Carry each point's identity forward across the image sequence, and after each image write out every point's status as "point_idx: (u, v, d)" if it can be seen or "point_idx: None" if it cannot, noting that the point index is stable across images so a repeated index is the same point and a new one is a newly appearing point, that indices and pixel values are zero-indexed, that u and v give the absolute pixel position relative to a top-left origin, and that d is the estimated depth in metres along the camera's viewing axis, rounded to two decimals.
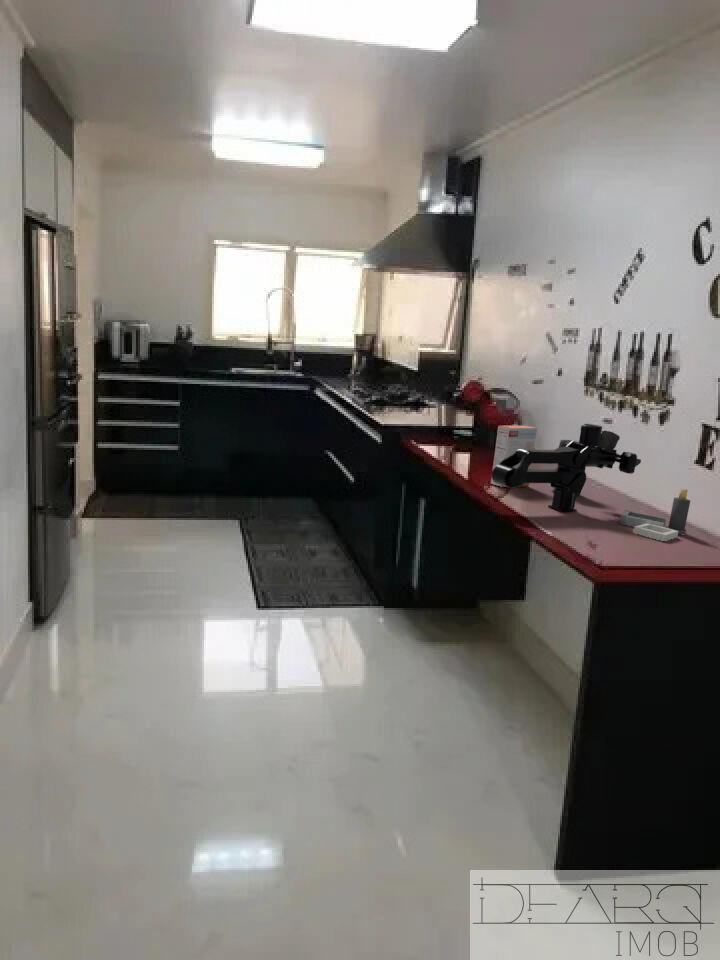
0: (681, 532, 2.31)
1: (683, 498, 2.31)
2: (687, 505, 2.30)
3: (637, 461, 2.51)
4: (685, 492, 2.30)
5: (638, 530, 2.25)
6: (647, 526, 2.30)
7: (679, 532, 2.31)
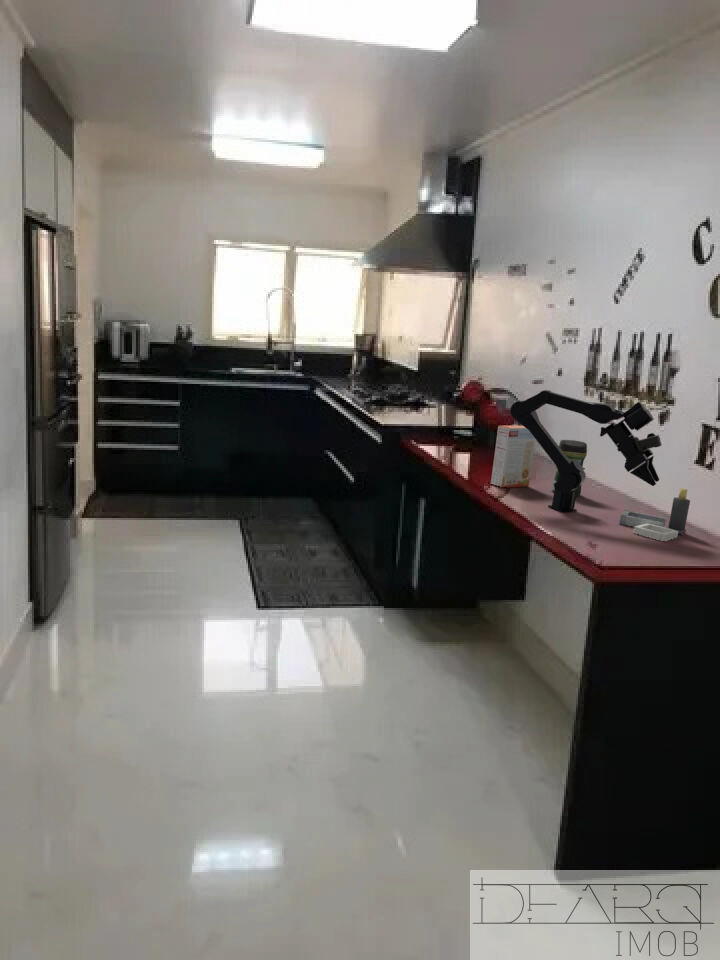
0: (681, 532, 2.31)
1: (683, 498, 2.31)
2: (687, 505, 2.30)
3: (649, 478, 2.30)
4: (685, 492, 2.30)
5: (638, 530, 2.25)
6: (647, 526, 2.30)
7: (679, 532, 2.31)
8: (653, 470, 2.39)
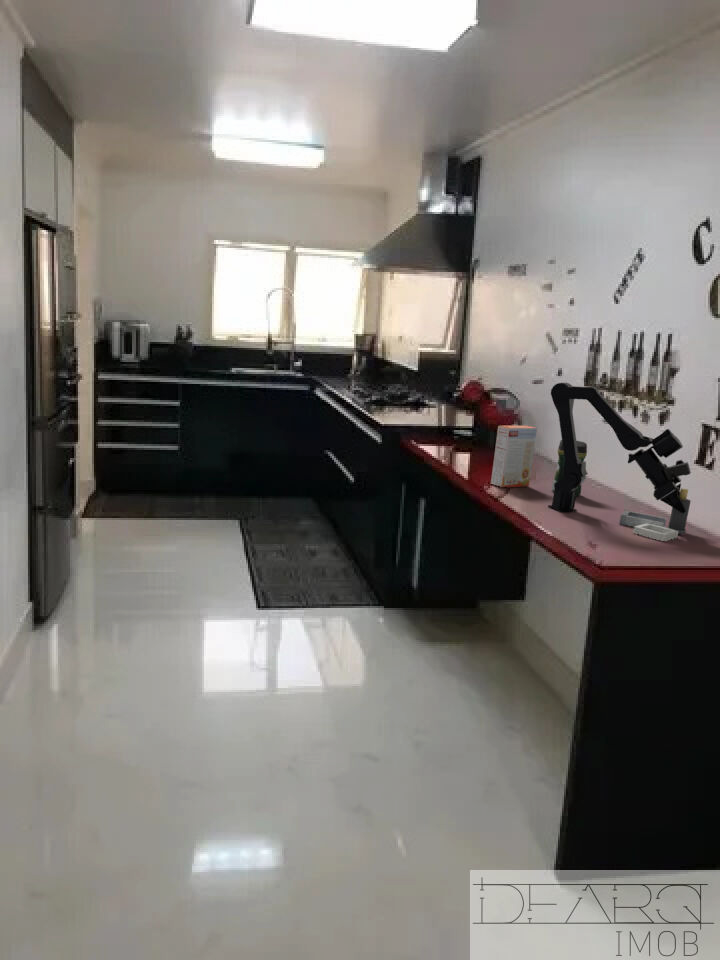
0: (681, 532, 2.31)
1: (683, 498, 2.31)
2: (687, 505, 2.30)
3: (679, 505, 2.29)
4: (685, 492, 2.30)
5: (638, 530, 2.25)
6: (647, 526, 2.30)
7: (679, 532, 2.31)
8: None
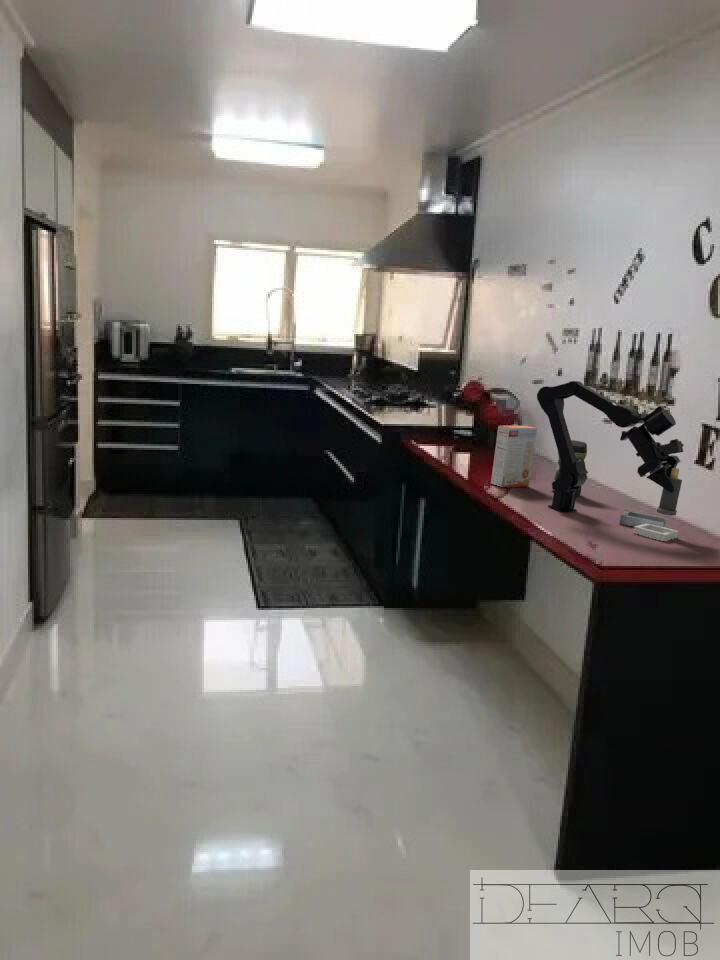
0: (670, 512, 2.25)
1: (674, 477, 2.24)
2: (677, 485, 2.23)
3: (667, 484, 2.23)
4: (676, 471, 2.24)
5: (638, 530, 2.25)
6: (647, 526, 2.30)
7: (668, 512, 2.25)
8: None
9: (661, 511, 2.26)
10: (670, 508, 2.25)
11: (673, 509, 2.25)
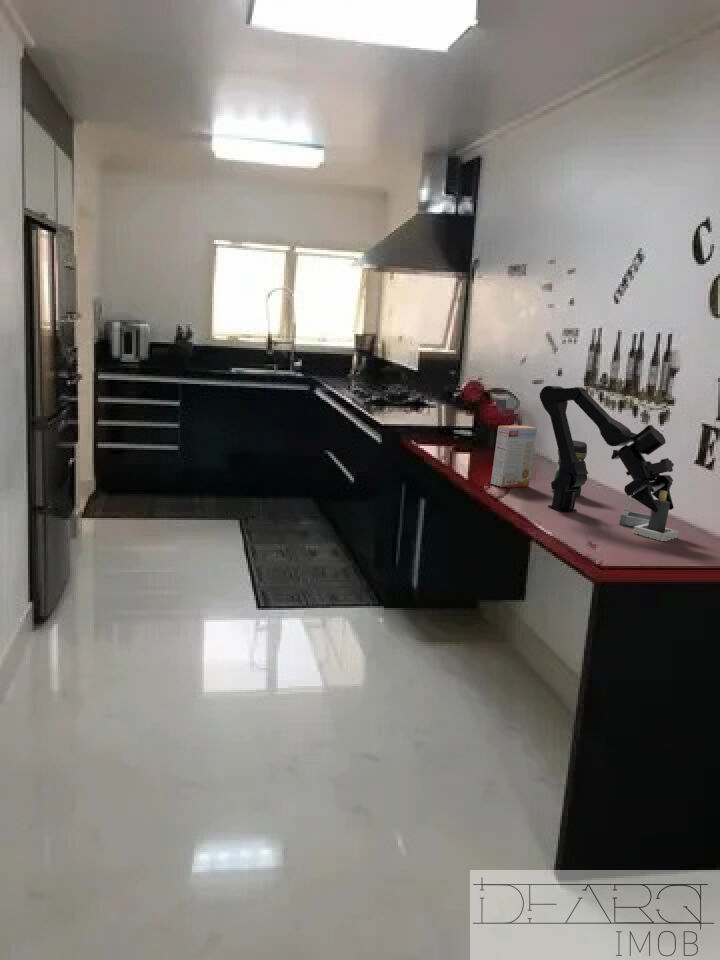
0: None
1: (661, 500, 2.24)
2: (664, 507, 2.23)
3: (651, 504, 2.21)
4: (663, 494, 2.23)
5: (638, 530, 2.25)
6: (647, 526, 2.30)
7: None
8: (668, 497, 2.28)
9: None
10: (658, 531, 2.24)
11: (661, 532, 2.24)
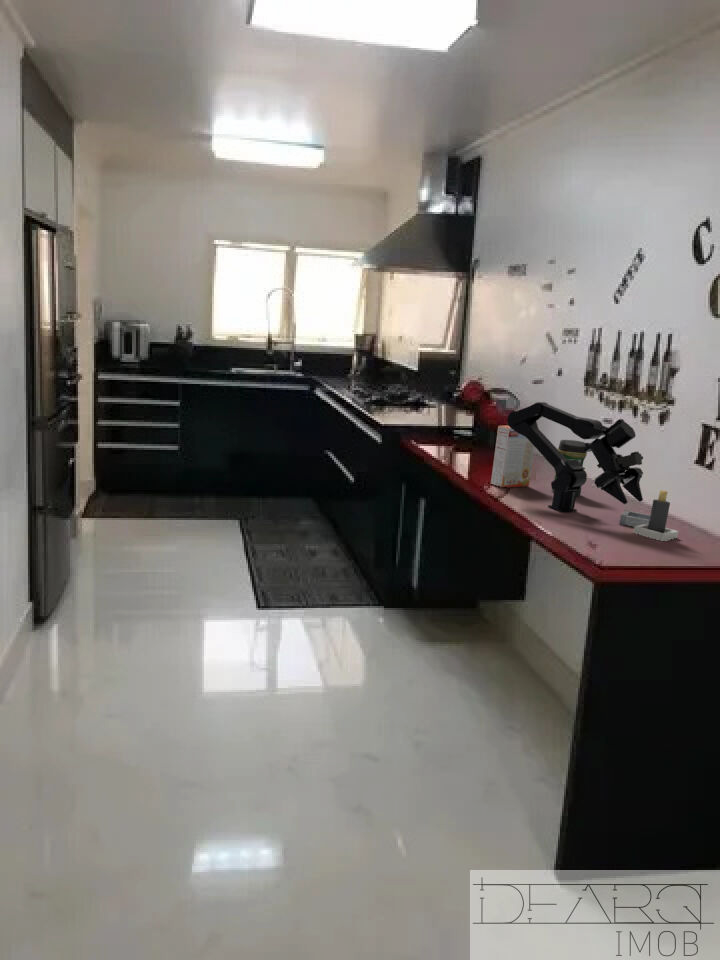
0: None
1: (661, 500, 2.24)
2: (664, 507, 2.23)
3: (620, 496, 2.28)
4: (663, 494, 2.23)
5: (638, 530, 2.25)
6: (647, 526, 2.30)
7: None
8: (637, 489, 2.35)
9: None
10: (658, 531, 2.24)
11: (661, 532, 2.24)
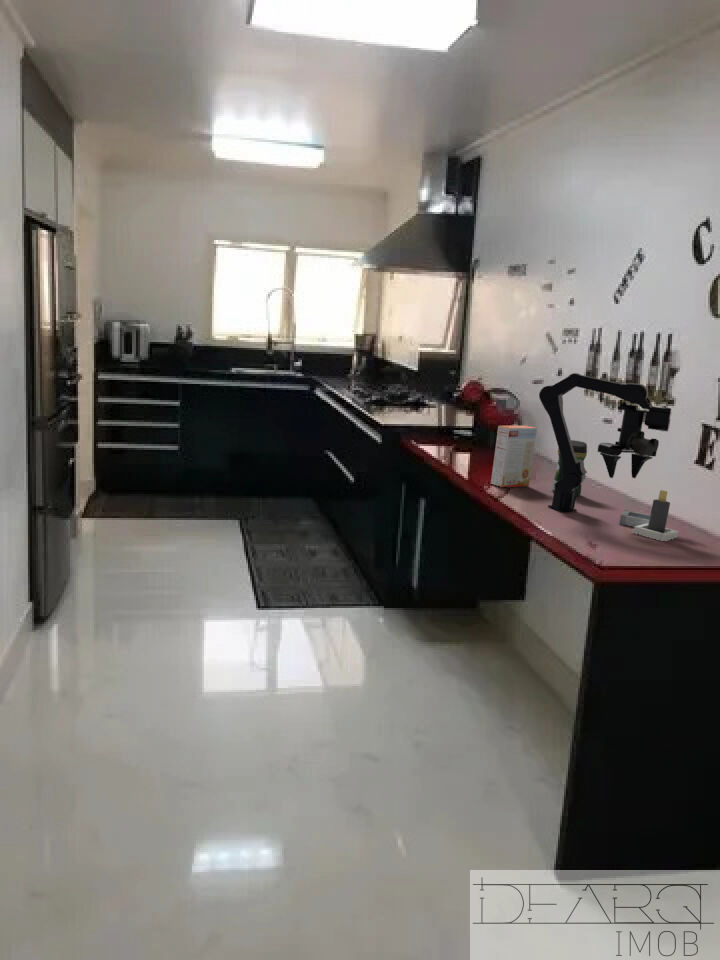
0: None
1: (661, 500, 2.24)
2: (664, 507, 2.23)
3: (610, 470, 2.36)
4: (663, 494, 2.23)
5: (638, 530, 2.25)
6: (647, 526, 2.30)
7: None
8: (637, 467, 2.40)
9: None
10: (658, 531, 2.24)
11: (661, 532, 2.24)
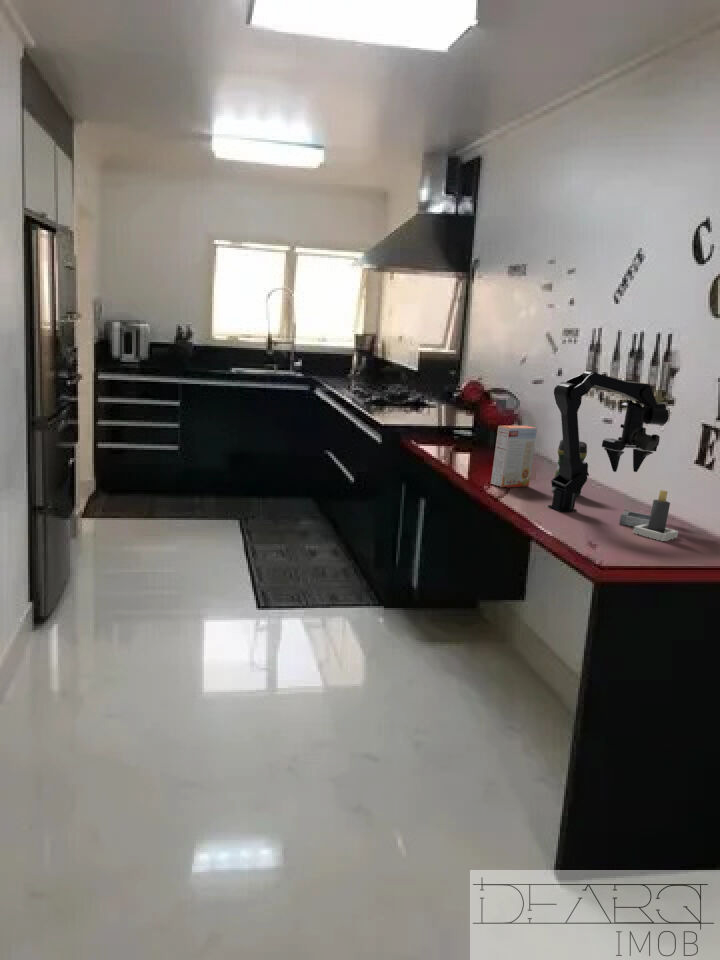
0: None
1: (661, 500, 2.24)
2: (664, 507, 2.23)
3: (614, 464, 2.48)
4: (663, 494, 2.23)
5: (638, 530, 2.25)
6: (647, 526, 2.30)
7: None
8: (639, 462, 2.53)
9: None
10: (658, 531, 2.24)
11: (661, 532, 2.24)
